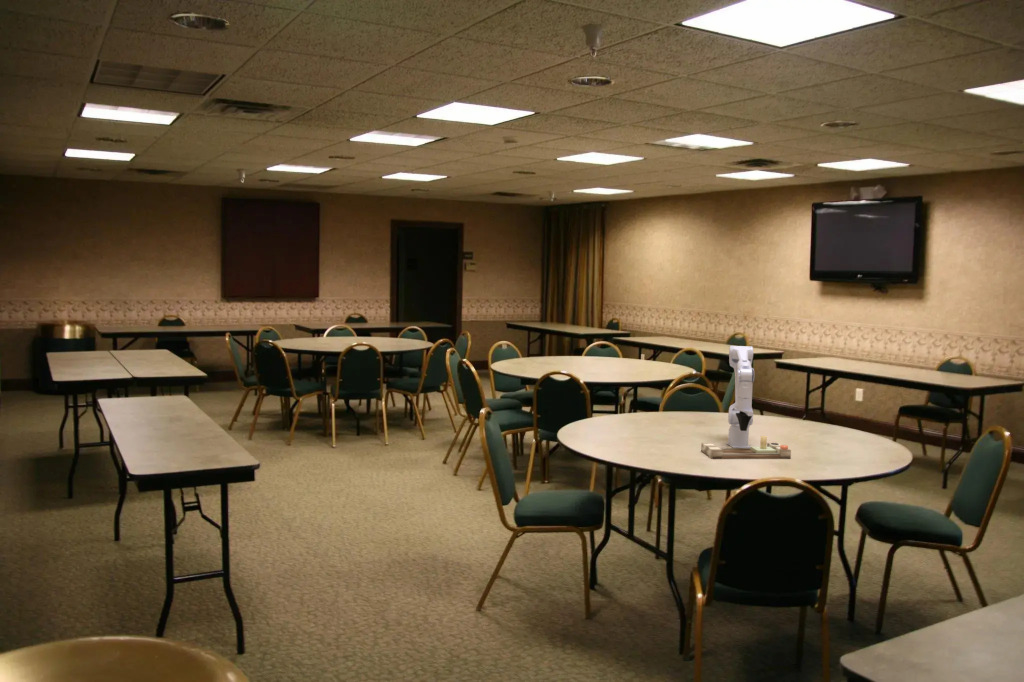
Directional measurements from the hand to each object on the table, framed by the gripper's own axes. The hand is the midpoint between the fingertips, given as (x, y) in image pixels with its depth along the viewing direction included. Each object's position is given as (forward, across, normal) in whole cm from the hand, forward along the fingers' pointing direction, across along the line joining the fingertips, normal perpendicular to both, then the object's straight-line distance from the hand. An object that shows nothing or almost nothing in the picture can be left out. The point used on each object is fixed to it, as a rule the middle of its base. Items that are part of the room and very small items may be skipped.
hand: (743, 430), depth 324 cm
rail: (+9, +3, 0) cm, 10 cm away
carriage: (+8, +3, +7) cm, 12 cm away
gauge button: (+6, +8, +14) cm, 17 cm away
